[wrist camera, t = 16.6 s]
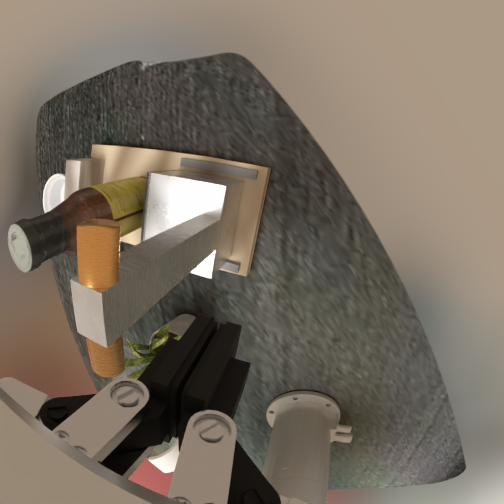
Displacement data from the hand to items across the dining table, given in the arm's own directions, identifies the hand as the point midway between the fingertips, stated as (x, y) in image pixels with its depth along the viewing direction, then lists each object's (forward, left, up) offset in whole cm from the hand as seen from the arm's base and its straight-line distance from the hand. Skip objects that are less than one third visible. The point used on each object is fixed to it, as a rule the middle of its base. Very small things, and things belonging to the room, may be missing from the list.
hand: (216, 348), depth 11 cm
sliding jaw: (+9, 0, -22) cm, 24 cm away
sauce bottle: (+18, +1, -23) cm, 29 cm away
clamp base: (+16, 0, -24) cm, 29 cm away
